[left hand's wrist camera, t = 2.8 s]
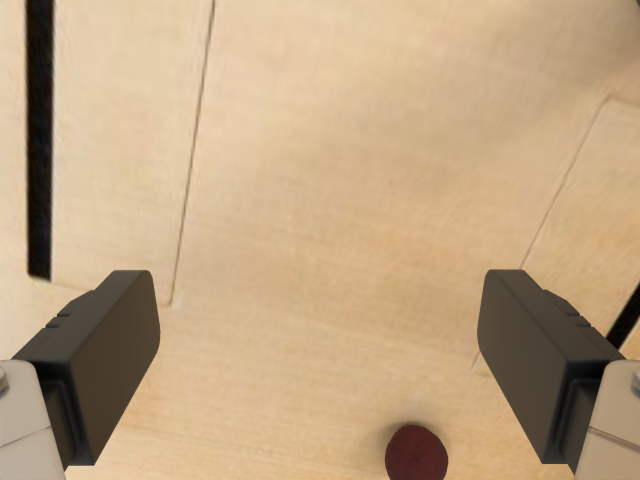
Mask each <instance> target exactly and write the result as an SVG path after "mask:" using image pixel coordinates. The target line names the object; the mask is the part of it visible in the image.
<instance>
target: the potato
mask: <svg viewBox="0 0 640 480" xmlns="http://www.w3.org/2000/svg"><path fill="white" fill-rule="evenodd" d="M385 466H386V470H387V473H388V476H389V478H390V480H443V479H444V477H445V475H446V472H447V467H448V455H447V452H446V449H445V447H444V446H443V444H442V442H441V441H440V439H439V438H438V437H437V436H436V435H434V434H433V433H432V432H430V431H429V430H427V429H426V428H424V427H420V426H407V427H404V428H401V429H400V430H399V431H398V432H396V433H395V435H394V436H393V437H392V439H391V441H390V442H389V444H388V446H387V449H386V454H385Z"/></svg>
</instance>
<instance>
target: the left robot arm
mask: <svg viewBox="0 0 640 480" xmlns="http://www.w3.org/2000/svg"><path fill="white" fill-rule="evenodd" d="M638 1H639V3H640V0H638ZM477 337H478V344H479V348H480V351H481V353H482V355H483V357H484V359H485V361H486V363H487V364H488V366H489V368H490V370H491V372H492V374H493V375H494V377H495V379H496V381H497V383H498V384H499V386H500V388H501V390H502V392H503V394H504V395H505V397H506V399H507V401H508V403H509V404H510V406H511V408H512V410H513V412H514V414H515V415H516V417H517V419H518V421H519V423H520V424H521V426H522V428H523V430H524V432H525V433H526V435H527V437H528V439H529V441H530V443H531V444H532V446H533V448H534V450H535V452H536V453H537V455H538V457H539V459H540V461H541V463H542V464H568V466H569V467H570V469H571V470H572V472H573V474H574V475H575V477H574V480H640V361H639V360H627V359H626V358H625V357H624V356H623V355H622V354H621V353H620V352H619V351H618V350H617V349H616V348H615V347H614V346H613V345H612V344H611V343H609V342H608V341H607V340H606V339H605V338H604V337H603V336H602V335H601V334H600V333H599V332H598V331H597V330H596V329H595V328H594V327H591V324H590V323H589V322H588V321H587V320H586V319H585V318H584V317H583V316H580V313H579V312H578V311H577V310H576V309H575V308H574V307H573V306H572V305H571V304H570V303H568V302H567V301H566V300H564V299H563V298H561V297H559V296H557V295H555V294H553V293H552V292H550V291H548V290H543V289H542V288H541V287H540V286H539V285H538V284H537V283H536V282H535V281H534V280H533V279H532V278H531V277H530V276H529V275H528V274H527V273H526V272H525V271H524V270H489V271H488V272H487V274H486V276H485V280H484V287H483V293H482V300H481V307H480V314H479V320H478V328H477ZM159 343H160V324H159V317H158V311H157V304H156V297H155V291H154V284H153V279H152V276H151V274H150V272H149V271H148V270H115V271H113V272H112V273H111V274H110V275H109V276H108V277H107V278H106V279H105V280H104V281H103V282H102V283H101V284H100V285H99V286H98V287H97V288H96V289H95V290H91V291H89V292H87V293H85V294H83V295H81V296H79V297H78V298H76V299H74V300H72V301H70V302H69V303H68V304H67V305H66V306H65V307H64V308H63V309H62V310H61V311H60V312H59V313H58V314H57V317H54V318H53V319H52V320H51V321H50V322H49V323H48V324H46V328H42V329H41V330H40V331H39V332H38V333H37V334H36V335H35V336H34V337H33V338H32V339H31V340H30V341H29V342H28V343H27V344H26V345H25V346H24V347H23V348H22V349H21V350H20V351H19V352H18V353H17V354H15V355H14V356H13V357H12V358H11V359H10V360H1V361H0V480H66V477H65V474H64V472H65V470H66V469H67V467H68V466H94V465H95V463H96V461H97V459H98V458H99V456H100V454H101V452H102V450H103V449H104V447H105V445H106V443H107V442H108V440H109V438H110V436H111V434H112V433H113V431H114V429H115V427H116V425H117V424H118V422H119V420H120V418H121V416H122V415H123V413H124V411H125V409H126V407H127V406H128V404H129V402H130V400H131V398H132V397H133V395H134V393H135V391H136V389H137V388H138V386H139V384H140V382H141V380H142V379H143V377H144V375H145V373H146V372H147V370H148V368H149V366H150V364H151V363H152V361H153V359H154V357H155V355H156V353H157V351H158V347H159Z"/></svg>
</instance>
